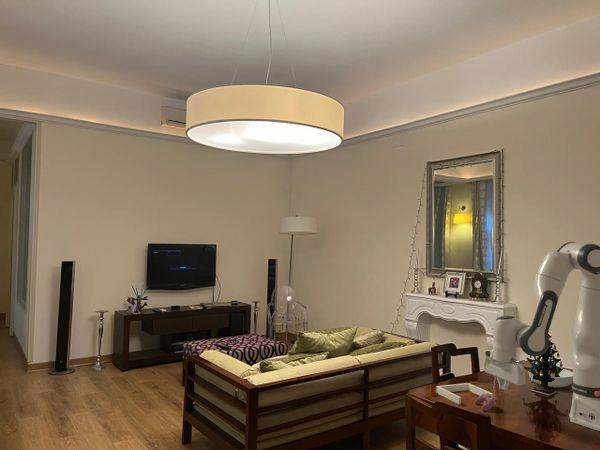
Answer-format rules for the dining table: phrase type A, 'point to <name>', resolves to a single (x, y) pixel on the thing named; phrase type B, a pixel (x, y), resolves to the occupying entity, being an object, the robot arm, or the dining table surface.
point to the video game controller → (485, 401)
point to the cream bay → (447, 390)
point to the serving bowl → (558, 379)
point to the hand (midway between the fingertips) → (503, 389)
